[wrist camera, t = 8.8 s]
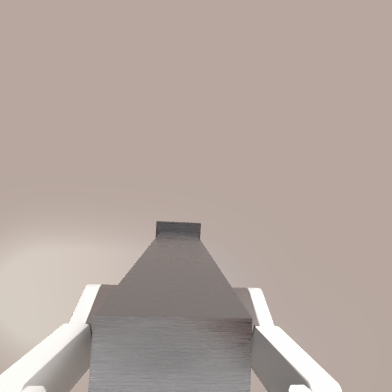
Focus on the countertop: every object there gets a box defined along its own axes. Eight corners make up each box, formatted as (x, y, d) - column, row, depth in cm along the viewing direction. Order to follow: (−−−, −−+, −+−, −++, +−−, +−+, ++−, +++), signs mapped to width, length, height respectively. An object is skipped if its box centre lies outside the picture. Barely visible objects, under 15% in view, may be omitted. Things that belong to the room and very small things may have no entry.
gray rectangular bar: (267, 458, 5) (273, 273, 6) (61, 463, 5) (75, 268, 5) (198, 262, 25) (200, 223, 26) (155, 260, 25) (157, 221, 25)
